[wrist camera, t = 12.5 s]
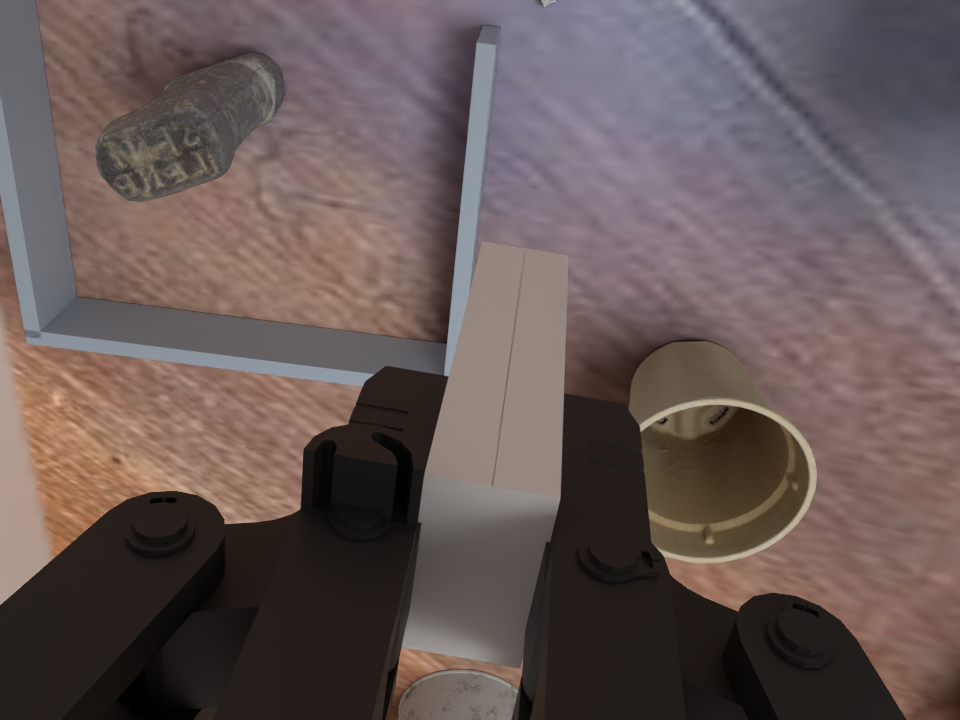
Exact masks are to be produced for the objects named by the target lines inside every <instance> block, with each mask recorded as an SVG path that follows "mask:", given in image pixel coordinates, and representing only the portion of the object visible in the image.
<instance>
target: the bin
mask: <svg viewBox="0 0 960 720" xmlns="http://www.w3.org/2000/svg"><path fill="white" fill-rule="evenodd" d="M500 34H501V27H493V26H485V25H483V28H482V30H481V33H480V35H479V38H478V40H477V43H476V54H475V64H474V74H473V84H472V95H471V105H470V115H469V125H468V135H467V146H466V156H465V166H464V176H463V187H462V197H461V207H460V217H459V228H458V238H457V248H456V258H455V268H454V279H453V289H452V299H451V309H450V320H449V330H448V340H447V344H445V343H437V342H429V341H422V340H414V339H406V338H398V337H390V336H382V335H374V334H366V333H358V332H351V331H343V330H335V329H327V328H319V327H311V326H303V325H295V324H287V323H280V322H272V321H264V320H256V319H248V318H240V317H232V316H224V315H216V314H208V313H201V312H193V311H185V310H177V309H169V308H161V307H153V306H145V305H137V304H130V303H122V302H114V301H106V300H98V299H90V298H82V297H77V295H76V288H75V280H74V273H73V266H72V259H71V252H70V245H69V237H68V230H67V223H66V216H65V209H64V201H63V194H62V187H61V180H60V173H59V166H58V158H57V151H56V144H55V137H54V130H53V123H52V115H51V108H50V101H49V94H48V87H47V80H46V72H45V65H44V58H43V51H42V44H41V36H40V29H39V22H38V15H37V8H36V1H35V0H0V195H1V201H2V207H3V212H4V218H5V224H6V229H7V235H8V241H9V246H10V252H11V258H12V263H13V269H14V275H15V280H16V286H17V292H18V297H19V303H20V309H21V314H22V320H23V326H24V331H25V337H26V343H27V344H33V345H41V346H49V347H57V348H65V349H73V350H81V351H88V352H96V353H104V354H112V355H120V356H128V357H135V358H143V359H151V360H159V361H167V362H175V363H183V364H190V365H198V366H206V367H214V368H222V369H230V370H238V371H245V372H253V373H261V374H269V375H277V376H285V377H292V378H300V379H308V380H316V381H324V382H332V383H340V384H347V385H355V386H363V385H364V383H365V381H366V380H368V379H369V378H370V377H372V376H373V375H374V374H376V373H377V372H378V371H380V370H381V369H382V368H384V367H385V366H392V367H398V368H404V369H410V370H415V371H421V372H427V373H433V374H439V375H444V376H449V373H450V369H451V365H452V361H453V357H454V353H455V349H456V345H457V341H458V337H459V333H460V329H461V325H462V321H463V317H464V313H465V309H466V305H467V301H468V297H469V293H470V289H471V285H472V281H473V277H474V270H475V261H476V252H477V243H478V234H479V225H480V215H481V206H482V197H483V188H484V179H485V170H486V161H487V152H488V143H489V134H490V125H491V116H492V107H493V98H494V89H495V80H496V70H497V61H498V52H499V43H500Z"/></svg>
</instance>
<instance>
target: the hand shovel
mask: <svg viewBox="0 0 960 720" xmlns="http://www.w3.org/2000/svg"><path fill="white" fill-rule="evenodd" d="M541 1H542V3H543V6H544V7H546V6H548V5H550V4H551V3H553V2H555V1H557V0H541Z"/></svg>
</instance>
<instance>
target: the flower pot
mask: <svg viewBox="0 0 960 720" xmlns="http://www.w3.org/2000/svg"><path fill="white" fill-rule="evenodd" d="M724 407H727V408H728V409H727V410H726V412H725V414H724V415H723V416H722V417H721V418H720V419H719V420H717V421H715V422H713V423H710V418H711V417H712V416H713V415H715V414H717V413H718V412H719V411H720V410H721V409H723V408H724ZM628 410H629V412H630V413H631V414H632V416H633V417H634V419H635V420H636V421H637V423H638V424H639V426H640V431H641V441H642V454H643V462H644V472H643V473H645V482H646V492H647V502H648V512H649V523H650V533H651V542H652V544H653V545H654V546H655V547H656V548H657V549H658V550H659V551H660V552H661V553H662V554H663V556H665V557H668V558H674V559H678V560H680V561H685V562H693V563H718V562H727V561H731V560H735V559H740V558H744V557H747V556H750V555H752V554H754V553H757V552H758V551H761V550H764V549H766V548H767V547H769V546H770V545H772V544H774V543H775V542H777V541H778V540H780V539H781V538H782V537H784V536H785V535H786V534H787V533H789V532H790V531H791V530H792V529H793V528H794V527H795V526H796V525H797V524H798V523H799V521H800V520H801V518H802V517H803V516H804V514H805V512H806V511H807V510H808V508H809V506H810V503H811V500H812V498H813V495H814V492H815V489H816V480H817V477H816V475H817V470H816V464H815V458H814V456H813V453H812V450H811V448H810V447H809V445H808V443H807V441H806V439H805V438H804V436H803V435H802V433H801V432H800V431H799V430H798V429H797V428H796V427H795V426H794V424H792V423H791V422H790V421H789V420H788V419H786V418H785V417H784V416H782V415H781V414H779V413H778V412H776V411H774V410H773V409H771V408H770V407H769V405H768V404H767V402H766V401H765V399H764V398H763V396H762V395H761V393H760V392H759V390H758V389H757V387H756V386H755V384H754V383H753V381H752V380H751V378H750V376H749V375H748V373H747V372H746V370H745V368H744V367H743V365H742V364H741V362H740V361H739V359H738V358H737V357H736V356H735V355H734V354H732V353H731V352H730V351H728V350H727V349H725V348H724V347H722V346H720V345H717V344H714V343H711V342H708V341H698V342H693V341H691V342H674V343H670V344H668V345H665V346H663V347H661V348H660V349H658V350H656V351H655V352H653V353H652V354H650V355H649V356H648V357H647V358H646V359H645V360H644V361H643V362H642V363H641V364H640V366H639V367H638V369H637V371H636V372H635V374H634V376H633V379H632V383H631V388H630V400H629V408H628ZM663 417H664V418H667V420H666V422H665V423H663V424H662V423H658V422H656V421H657V420H659V419H661V418H663Z"/></svg>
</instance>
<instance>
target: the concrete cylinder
mask: <svg viewBox="0 0 960 720" xmlns="http://www.w3.org/2000/svg"><path fill="white" fill-rule="evenodd" d="M517 694H518V689H517V688H516V687H514V686H513V685H512V684H511V683H509V682H507V681H505V680H503V679H501V678H500V677H497V676H495V675H492V674H489V673H486V672H481V671H475V670H469V669H450V670H444V671H438V672H435V673H432V674H429V675H426V676H424V677H422V678H420V679H419V680H417V681H415V682H414V683H413V684H412V685H411V686H410V687H409V688H408V689H407V690H406V691H405V692H404V694H403V696H402V698H401V700H400V704H399V710H398V714H399V717H398V720H511V719H512V715H513V711H514V707H515V703H516V698H517Z"/></svg>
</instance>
